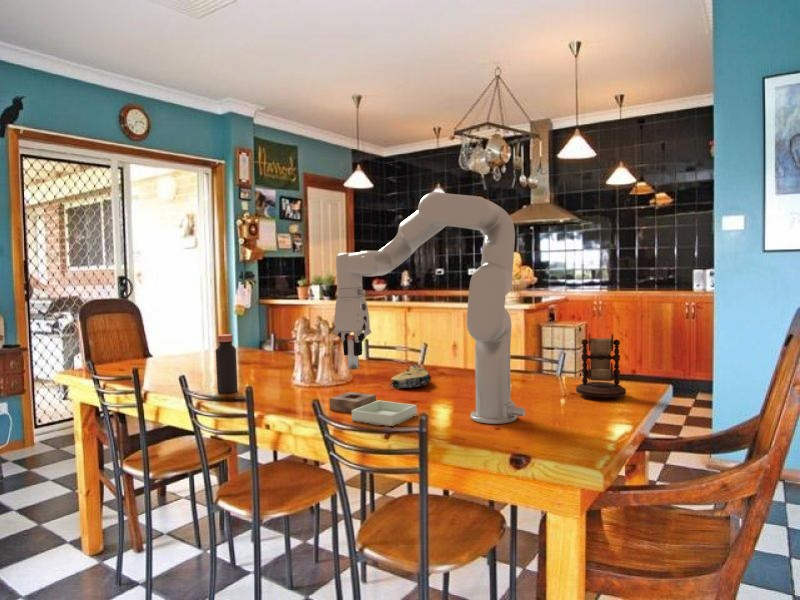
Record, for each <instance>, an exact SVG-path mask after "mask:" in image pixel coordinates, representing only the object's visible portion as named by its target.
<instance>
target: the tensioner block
mask: <svg viewBox="0 0 800 600" xmlns="http://www.w3.org/2000/svg"><path fill="white" fill-rule="evenodd" d="M375 401H377V394H371V393H366V392H365V393H362V392H355V391H348V392H345V393H342V394H339V395H336V396H333V397H330V398H329V411H333V412H334V411H336V412H343V413H350V414H352V412H351V410H354V409H357V408H359V407H362V406H364V405H367V404H370V403H372V402H375Z"/></svg>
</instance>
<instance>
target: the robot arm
mask: <svg viewBox="0 0 800 600" xmlns="http://www.w3.org/2000/svg"><path fill="white" fill-rule="evenodd" d="M446 227H451V228H452V227H453V228H462V229H468V230H473V231H474V230H475V231H480V232H482V234H483V243H482V249H481V263H480V266H479V267H478V268H476V270H474V272H473V274H472V275H471V278H470V281H469V286H468V287H469V288H468V299H467V310H466V328H467V331H468V334H469V335H470V336H471V338H473V339H474V340H475V348H474V352H475V354H474V362H475V363H474V364H475V365H474V368H475V369H474V373H475V374H474V375H475V377H474V378H475V379H474V380H475V381H474V382H475V410H472V411H471V412H470V419H471V420H472V421H474V422H477V423H481V424H490V425H492V424H493V425H497V424H498V425H500V424H502V425H503V424H508V423H512V422H515V421H516V420H517V419H518V418H517V417H525V416H526V409H525V408H524V407H520V406H516V405H515V401H512V400H511V396H512V395H511V340H512V339H511V337H512V318H511V315H510V313H509V311H508V310H507V308H506V307H505V305H506V296H507V295H508V294H509V293H510V292H511V289H512V287H513V274H514V273H513V271H514V258H515V256H514V255H515V243H516V231H515V230H516V229H515V226H514V222H513V219H512V218H511V216H510V215H509V213H508V212H507V211H506V210H505V209H504V208H502V207H501V206H499V205H498V204H496V203H495V202H493V201H490V200H488V199H486V198H484V197H480V196H477V195H467V194H459V193H458V194H457V193H456V194H455V193H444V192H440V191H432V192H429V193H427V194H425V195H423V197H422V198H421V199H420V201H419V203H418V206H417V210H416V211H415V212H413V213H412V214H411V215H409V216H407V218H405V219H404V220H403V221H401V222H400V223H399V225H398V229H397V234H396V235H395V237H394V238H393V239H392V240H391V241H389V242H388V243H387V244H386V245H385V246H383V247H381V248H380V249H379V250H363V251H359V252H358V251H357V252H341V253H338V254H337V255H336V257H335V268H336V288H337V298H336V300H335V309H334V327H333V333H334V334H335V335H337V336H338V338H339V339H340V341H341V343H342V347H343V355H344V356H348V350H347V335H351V333H353V335H354V336H355V343H354V355H355V356H358V357H359V356H362V355H363V342H364V340H365V339H366V337H367V336H369V335H370V334H372V331H371V324H370V314H369V307H368V303H367V300H366V298H365V297H364V295H366V289H363V277H379V276H380V277H382V276H385V275H387V274H389V273H391V272H392V271H393V270H395V269H396V268H397V267H399V266H400V265H401V264H403V263H404V262H405V261H407V260H408V258H410V257H411V256H412V255H413V254H414V253H415V252H416V251H417V249H418V248H419V247H420V246H422V245H423V244H425V243H426V242H427V241H428V240H430V239H431V238H433V237H434V236H435V235H436V234H438V233H439V232H441V231H442V230H443V229H444V228H446Z"/></svg>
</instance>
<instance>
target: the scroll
mask: <svg viewBox="0 0 800 600" xmlns="http://www.w3.org/2000/svg"><path fill="white" fill-rule="evenodd" d="M610 335H611V336H610V338H604V337H603V338H601V337H600V338H597V337H596V338H594V337H591V333H590V332H589V333H588V339H587V338H586V339H585V338H583V339H582V340H581V345H582V346H581V347H582V350H581V352H582V354H581V360H582V364H581V366H582V369H581V373H582V374H581V375H582V380H581V382H582V383H581V384H579V385H577V386H576V389H575V391H576V393H578V394H580V395H582V396H583V399H584V400H586V399H587V398H588V396H589V397H594V398H595V397H596V398H615V400H616V401H617V402H618V401H619V400H620V398H621V397H623V396H625V395H626V394H627V389H626V388H625V387H624V386H622V385H621V384H620V383H621V381H620V374H621V370H620V364H619V363H620V361H621V355H620V350H619V349H620V344H621V341H620V339H614V334H613V333H611V334H610ZM587 347H588V349H587ZM588 351H589V353H590V354H589V355H588V354H587V353H588ZM612 352H613V354H614V355H611V353H612ZM588 360H590V361H589V362H588ZM611 360H613V361H614V366H613V362H611ZM587 362H588V363H587ZM613 367H614V368H613ZM587 377H588V378H587ZM613 379H614V381H613ZM588 380H589V381H588ZM611 381H613V382H611Z"/></svg>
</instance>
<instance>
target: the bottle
mask: <svg viewBox="0 0 800 600" xmlns="http://www.w3.org/2000/svg"><path fill="white" fill-rule="evenodd" d="M233 337H234V336H233V334H231V333H229V334H224V333H223V334H218V335H217V343H218V347H217V348H216V349H215V363H216V385H217V388H216V389H217V393H218V394H232V393H236V392H237V391H238V390H239V389H238V373H237V372H238V370H237V369H238V368H237V349H236V347H235V346H234V345H233V340H234V339H233Z"/></svg>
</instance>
